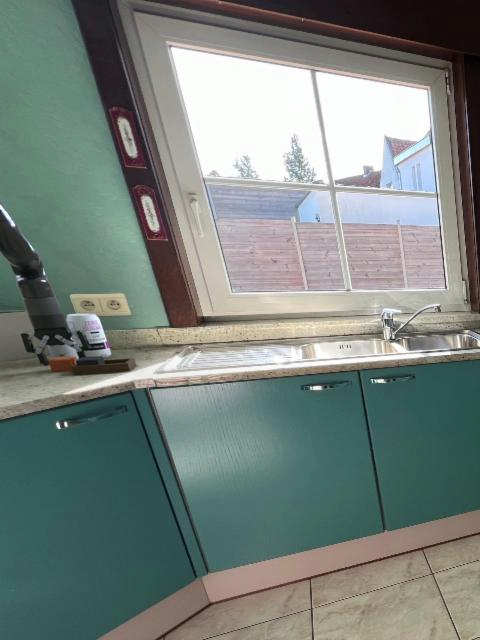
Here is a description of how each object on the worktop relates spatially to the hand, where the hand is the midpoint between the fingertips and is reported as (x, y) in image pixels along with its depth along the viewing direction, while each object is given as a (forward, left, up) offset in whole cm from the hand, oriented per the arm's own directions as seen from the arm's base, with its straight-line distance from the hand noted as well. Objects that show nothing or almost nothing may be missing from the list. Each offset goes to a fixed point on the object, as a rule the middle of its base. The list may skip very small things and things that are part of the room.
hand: (65, 364), depth 158 cm
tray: (+11, -6, -2) cm, 12 cm away
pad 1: (0, 0, -2) cm, 2 cm away
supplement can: (+3, +20, -2) cm, 21 cm away
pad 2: (+7, -6, -1) cm, 9 cm away
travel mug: (-3, +14, -2) cm, 15 cm away
